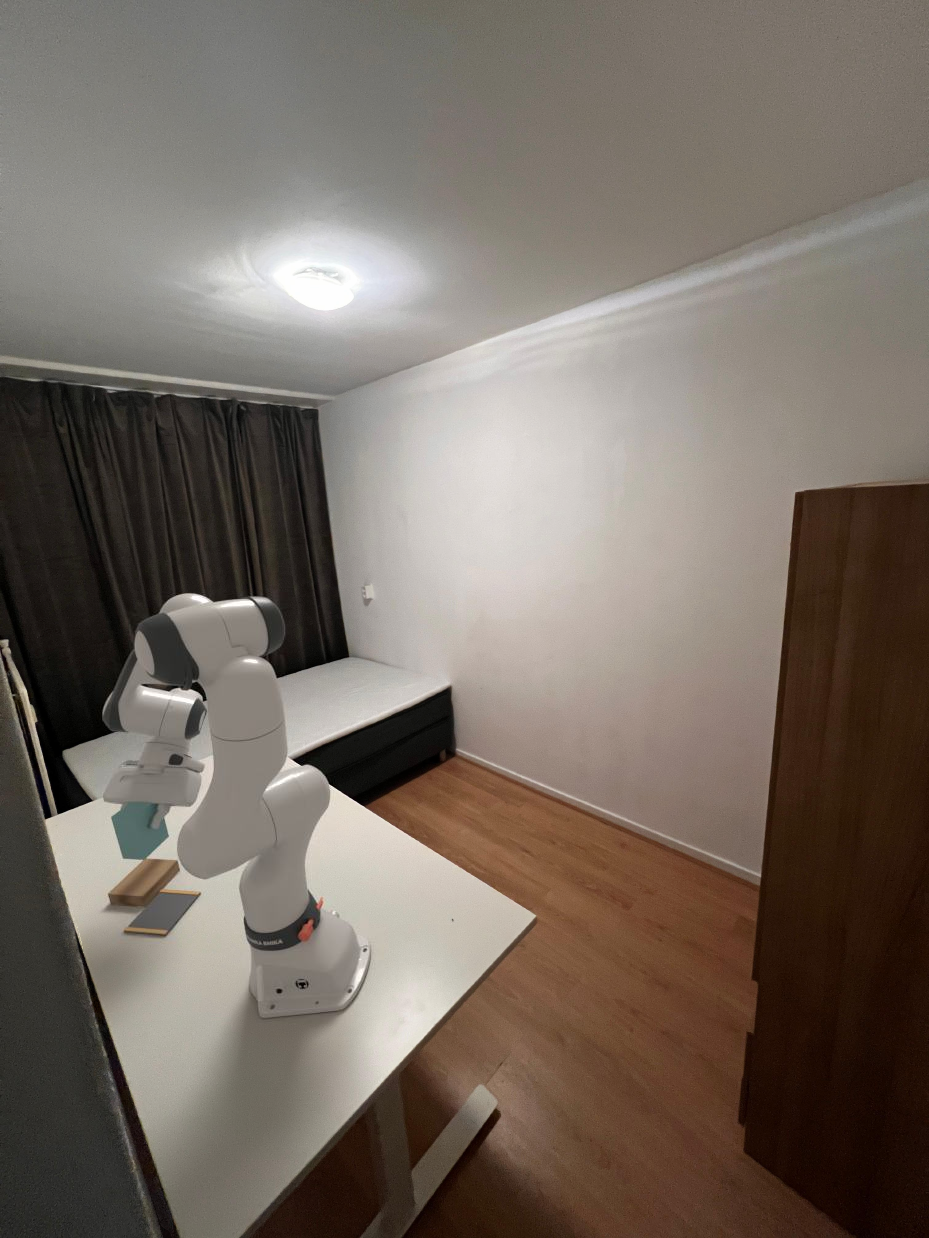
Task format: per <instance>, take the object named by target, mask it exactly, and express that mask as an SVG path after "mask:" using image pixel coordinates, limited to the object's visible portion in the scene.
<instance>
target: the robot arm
mask: <svg viewBox="0 0 929 1238" xmlns="http://www.w3.org/2000/svg"><path fill="white" fill-rule="evenodd" d="M285 624H286V623H285V620H284V616H283V613H282V611H281V610H280V608H279V607H278V606H277V605H276V604H275V602H273V601H272V600H270V599H269V598H268V597H265V596H244V597H242V598H240V599H239V598H237V599H226V600H220V601H219V600H218V601H213V600H211V599H210V598H208V597H206V596H204V595H201V594H197V593H190V592H189V593H181V594H178V595H175V596H173V597H171V598H169V599H168V600H167V601H166V602H164V604H163V605H162V607H161V608H160V611H159V613H157V614H154V615H152V616H150V617H147V618H146V619H143V620H142V621H140V622H139V624H138V625H137V627H136V629H135V631H134V648H133V649H132V650H131V652H130V653H129V655H128V657H127V659H126V661H125V663H124V666H123V668H122V669H121V672H120V674H119V676H118V679H117V681H116V684H115V686H114V688H113V690H112V692H111V693H110V694H109V696H108V697H107V699H106V701H105V703H104V706H103V709H102V721H103V723H104V724H105V726H106V727H108V729H109V730H110V731H111V732H117V733H118V732H119V733H133V734H139V735H145V736H149V738H148V739H147V740H146V742H145V744H144V747H143V750H142V752H141V755H140V757H139V759H138V760H132V759H128V760H126V761H125V762H122V763H121V764H119V766H118V767H117V769H116V771H115V772H114V773H113V775H112V776H111V778H110V781H109V782H108V784H107V786H106V788H105V790H104V793H103V794H102V798H103V802H105V803H108V804H113V805H121V806H120V809H119V810H121V809H122V808H123V807H125V806H126V805H127V804H129V803H130V802H131V801H132V802H152V803H153V804H159V805H158V808H157V810H159V811H158V812H157V814H156V815H155V816H154V818H153V819H149V821H148V824H147V828H151V829H158V827H159V825H160V822H161V820H162V819H163V818H164V819H165V817H166V816H167V815H168V814H169V813H170V810H171V808H172V807H179V808H180V807H181V808H183V807H184V808H186V807H187V808H190V807H192V806H193V805H194V804H195V803H196V802H197V799H198V797H199V796H198V795H199V794H200V793H199V792H200V789H201V785H202V775H201V773H203V772H204V769H205V767H206V765H205V763H204V762H201V761H200V760H197V759H195V758H193V757H192V756H190V755H188V754H189V752H190V748H191V747H190V743H191V740H192V739H194V738H195V737H197V736H198V735H200V734H201V730H202V726H203V723H204V721H205V718H206V716H207V717H208V725H209V732H210V739H211V745H212V756H213V757H212V758H213V771H212V776H211V781H210V784H209V786H208V788H207V791H206V792H205V795H204V797H203V799H202V801H201V802H200V804H199V805H198V807H197V809H196V810H195V812H194V813H193V814H192V815H191V816H190V817H189V818H188V820H187V821H186V822H184V824H183V825H182V827H181V829H180V832H179V833H178V836H177V841H176V842H177V843H176V852H177V858H178V860H179V863H180V864H181V866H182V867H183V869H184V870H185V871H187V873H188V874H190V875H191V876H193V877H195V878H198V879H202V880H209V879H211V878H214V877H216V876H220V875H223V874H225V873H227V872H230V871H232V870H235V869H237V868H239V867H241V866H242V865H244V864H246V866H245V867H244V869H243V871H242V873H241V876H240V880H239V887H238V889H239V893H240V895H239V896H240V899H241V904H242V909H243V913H244V915H243V925H244V927H243V928H244V932H245V936H246V941H247V942H248V944H249V947H250V957H251V958H250V965H251V966H250V974H249V984H248V985H249V990H250V992H251V995H252V996H253V998H254V999H255V1000H256V1003H257V1012H258V1016H259V1017H260V1018H263V1019H267V1018H277V1017H287V1016H296V1015H306V1014H317V1013H327V1012H336V1011H342V1010H343V1009H345V1008H346V1007H347V1006H348V1005H350V1003H352V1001H353V1000H354V998H355V997H356V996H357V994H358V993H359V991H360V989H361V987H362V985H363V983H364V982H365V981H364V980H365V978H366V975H367V972H368V970H369V969H368V968H369V967H370V961H371V955H372V950H371V949H372V948H371V947H372V946H371V944H370V940H369V937H368V936H365V935H362V934H359V933H356V932H355V929H354V927H353V925H352V924H351V923H349V922H348V921H346V920H344V919H342V918H340V914H339V913H338V912H337V911H335V910H331V911H327V910H326V909H324V908H322V907H323V904H324V900H323V899H324V898H323V897H320V899H319V901H318V902H317V900H316V899H315V897H314V896H313V894H312V893H311V892H310V890H309V888H308V881H307V876H306V874H307V873H306V872H307V871H306V856H307V852H308V848H309V845H310V841H311V838H312V836H313V834H314V830H315V828H316V826H317V825H318V823H319V821H320V820H321V818H322V816H323V815H324V814H325V813H326V811H327V809H328V808H329V805H330V802H331V801H330V800H331V787H330V784H329V781H328V779H327V777H326V776H325V774H323V772H322V771H321V770H319V769H318V768H316V767H315V766H313V765H310V764H304V765H299V766H297V767H292V768H288V769H285V770H282V769H283V767H284V766H285V764H286V761H287V757H288V750H289V748H288V738H287V737H288V736H287V728H286V719H285V718H286V716H285V709H284V701H283V697H282V693H281V689H280V685H279V682H278V678H277V675H276V672H275V670H274V668H273V666H272V664H271V663H270V662H269V661H267V660H266V659H265V658H263V657H265V656H267V655H269V654H271V653H273V652H275V651H276V650H278V649H279V648H280V647H282V644H283V642H284V639H285V636H286V625H285ZM196 682H197V683H198V684H199V685H200V686H201V687H202V689H203V690H204V693H205V697H206V702H207V708H206V706H205V705H204V703H203V702H204V701H203V699H204V698H203V696H202V695H201V694H200V693H199V692H198V691H195V690H194V689H192V685H193V683H196ZM145 684H147V685H148V684H149V685H150V684H151V685H152V684H153V685H167V686H178V687H177V688H173V689H171V690H170V691H167V690H163V689H158V688H153V687H147V686H144V685H145ZM281 770H282V771H281Z"/></svg>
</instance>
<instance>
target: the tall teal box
mask: <svg viewBox="0 0 929 1238" xmlns="http://www.w3.org/2000/svg"><path fill="white" fill-rule="evenodd" d="M158 805H159V804H153V803H152V802H132V801H131V802H130V803H129V804H127V805H126V806H125V807H123V808H122V809H119V810H118V811H117V812H116V813H114V814H113V815H111V817H110V818H111V823H112V825H113V828H114V829H113V830H114V832H115V836H116V840H117V843H118V846H119V851H120V854H121V858H122V859H123V860H124V859H125V860H141V861H143V860H145V859H146V858H147V859H148V857H150V855H152V853H154V851H156V849H158V847H159V846H161V845H162V844H163V843H164V842H165V841H166V840H167V839H168V838H169V837H170V835H169V832H168V827H167V823H166V820H165V819H166V818H165V817H164V818H163V819H162V820H161V822H160V825H159V827H158V829H151V828H147V824H148V821H149V819H153V818H154V816H155V815H156V814H157V812H158V811H159V810H157V808H158Z"/></svg>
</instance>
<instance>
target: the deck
mask: <svg viewBox="0 0 929 1238" xmlns="http://www.w3.org/2000/svg"><path fill="white" fill-rule="evenodd" d="M178 860H179V859H176V860H175V859H163V858H161V859H160V858H148V857H147V858H146V859H145V860H141V862H139V863H138V865H136V866H135V868H134V869H132V870H131V871H130V872H129V873H128V874H127V875H125V877H123V878H122V880H120V882H119V883H117V885H115V886H114V887H113V888H112V889H110V891H109V892H108V893H107V897H108V899H109V904H110V905H111V906H125V907H138V908H145V907H146V906H147V905H148V904H149V903H150V902H151V901H152V900H153V899H154V898H155V897H156V896H157V895H158V894H159V892H160V890H161V889H165V887H166V886H168V884H169V883H170V882H172V880H173V879H174V878H175V876H177V874H178V873H179V872H180V871H181V869H180V865H179V861H178Z"/></svg>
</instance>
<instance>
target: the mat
mask: <svg viewBox="0 0 929 1238" xmlns="http://www.w3.org/2000/svg"><path fill="white" fill-rule="evenodd" d="M201 894H202V892H201V891H194V890H191V891H190V890H183V889H181V890H179V889H168V888H167V889H165V888H163V889H161V890H160V892H159V894H158V895H157V896H156V897H155V898H154V899H153V900H152V901H151V902H150V903H149V904H148V905H147V906H146V907H144V909H142V911H140V913H139V914H138V915H137V916H136V917H135V918H134V919H133V920H132V921H131V922H130V924H129V925H127V926H126V927H125V928H124V929H122V930H123V933H125V934H132V935H133V934H134V935H144V936H147V935H148V936H157V937H167V936H168V935H169V933H170V932H171V931H172V930H174V928H175V927H176V925H177V924H178V923H179V922H180V920H181V919H182V918H183V917H184V915H185V914H186V913H187V912H188V910H189V909H190V908H191V907H192V906H193V905H194V903H195V902H196V901H197V900H198V899H199V897H200V896H201Z"/></svg>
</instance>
